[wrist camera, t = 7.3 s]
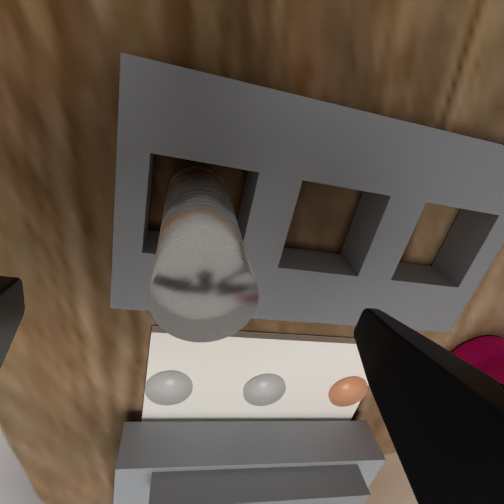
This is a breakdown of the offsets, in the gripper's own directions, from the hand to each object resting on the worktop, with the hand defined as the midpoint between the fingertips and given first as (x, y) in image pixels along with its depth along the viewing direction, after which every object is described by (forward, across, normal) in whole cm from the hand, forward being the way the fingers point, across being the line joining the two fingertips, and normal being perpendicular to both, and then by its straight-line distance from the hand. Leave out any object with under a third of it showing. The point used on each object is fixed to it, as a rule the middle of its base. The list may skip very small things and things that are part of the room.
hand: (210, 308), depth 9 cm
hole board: (+9, -6, 0) cm, 11 cm away
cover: (+9, -6, +22) cm, 25 cm away
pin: (+9, 0, 0) cm, 9 cm away
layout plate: (+9, -6, +13) cm, 17 cm away
